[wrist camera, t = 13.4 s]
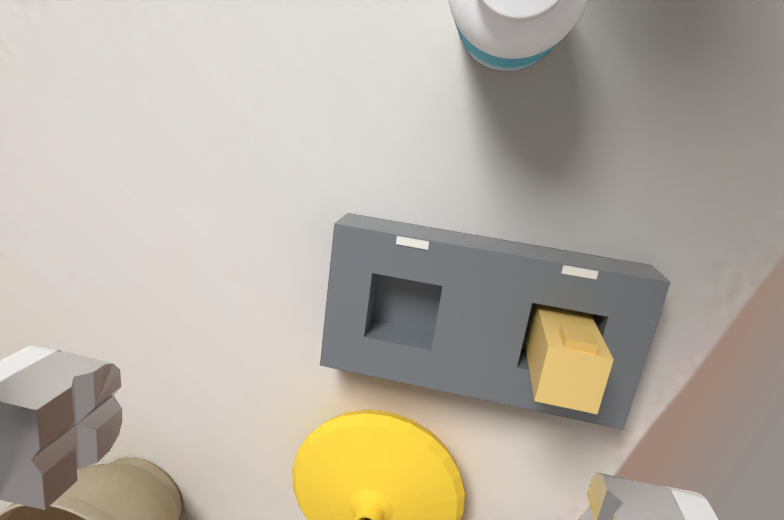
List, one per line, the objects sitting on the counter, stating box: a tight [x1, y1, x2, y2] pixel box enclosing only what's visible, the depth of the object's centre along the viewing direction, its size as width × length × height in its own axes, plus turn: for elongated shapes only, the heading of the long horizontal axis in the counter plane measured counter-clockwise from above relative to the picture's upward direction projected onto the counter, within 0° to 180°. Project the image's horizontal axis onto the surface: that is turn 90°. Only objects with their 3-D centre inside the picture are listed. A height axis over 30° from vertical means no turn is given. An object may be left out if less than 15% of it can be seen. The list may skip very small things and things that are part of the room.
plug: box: [525, 303, 614, 414], centre depth 37 cm, size 5×4×9 cm
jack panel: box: [320, 213, 670, 429], centre depth 41 cm, size 12×24×4 cm, turn 82°
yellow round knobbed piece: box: [292, 410, 465, 520], centre depth 45 cm, size 16×16×7 cm
